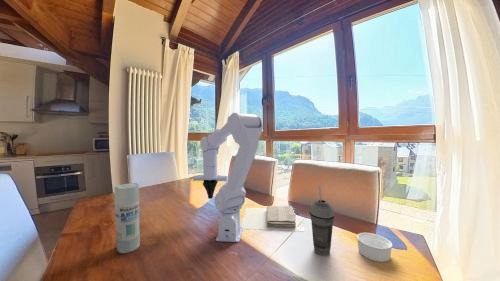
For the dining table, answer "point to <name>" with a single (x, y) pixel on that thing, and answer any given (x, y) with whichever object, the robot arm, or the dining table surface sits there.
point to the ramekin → (374, 247)
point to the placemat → (261, 221)
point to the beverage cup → (322, 225)
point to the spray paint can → (127, 217)
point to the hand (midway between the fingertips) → (210, 198)
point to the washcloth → (281, 216)
